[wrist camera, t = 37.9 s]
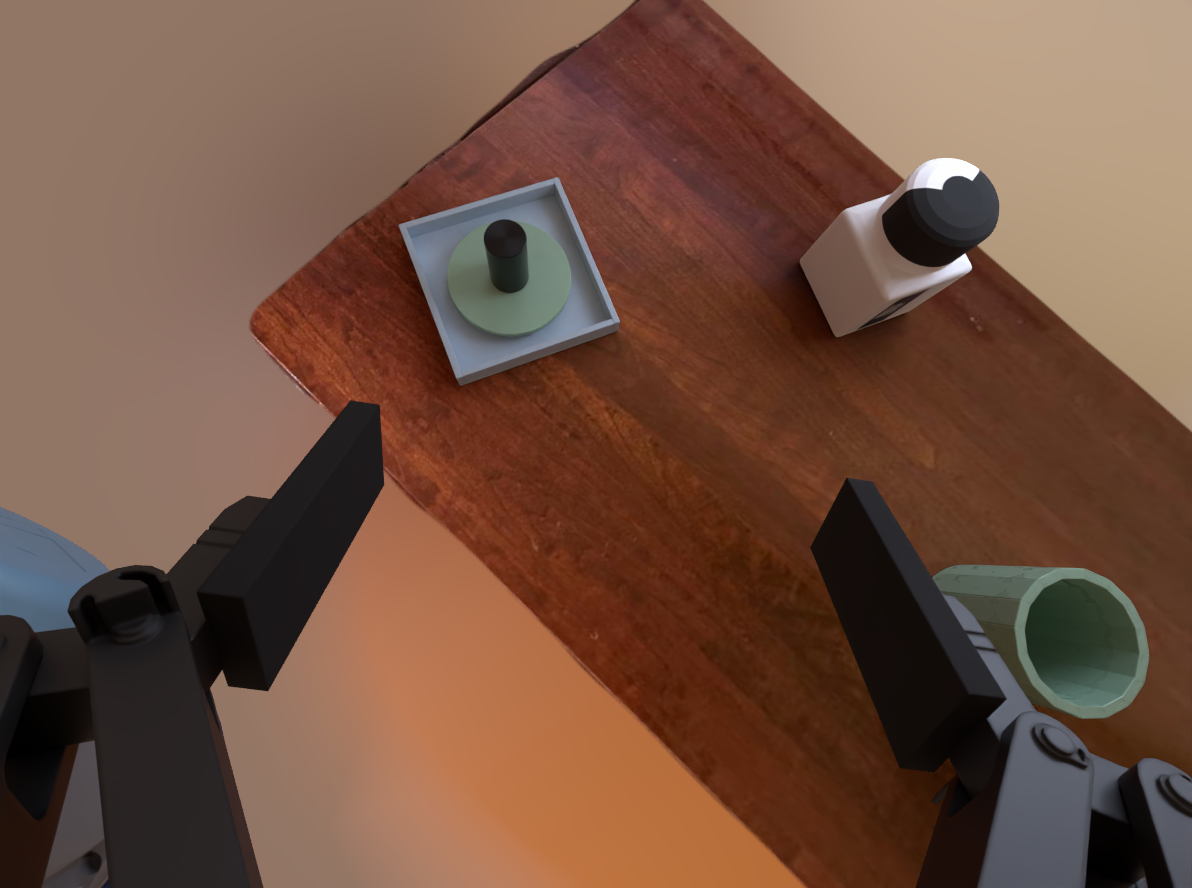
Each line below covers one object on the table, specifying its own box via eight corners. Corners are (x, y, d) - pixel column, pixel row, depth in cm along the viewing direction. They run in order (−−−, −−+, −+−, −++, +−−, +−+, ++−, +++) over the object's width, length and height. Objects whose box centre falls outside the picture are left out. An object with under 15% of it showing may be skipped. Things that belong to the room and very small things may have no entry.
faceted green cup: (949, 702, 43) (1061, 743, 34) (897, 591, 44) (990, 601, 35) (1042, 654, 45) (1174, 681, 35) (989, 547, 46) (1103, 546, 37)
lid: (474, 356, 44) (462, 322, 38) (432, 249, 46) (413, 198, 39) (588, 316, 46) (596, 277, 39) (544, 213, 47) (545, 159, 41)
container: (909, 312, 49) (1037, 228, 37) (834, 339, 48) (939, 263, 35) (871, 235, 50) (982, 129, 38) (796, 261, 49) (885, 159, 36)
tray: (460, 386, 44) (456, 378, 42) (404, 238, 46) (398, 224, 44) (616, 331, 46) (620, 321, 44) (557, 191, 48) (558, 176, 46)
